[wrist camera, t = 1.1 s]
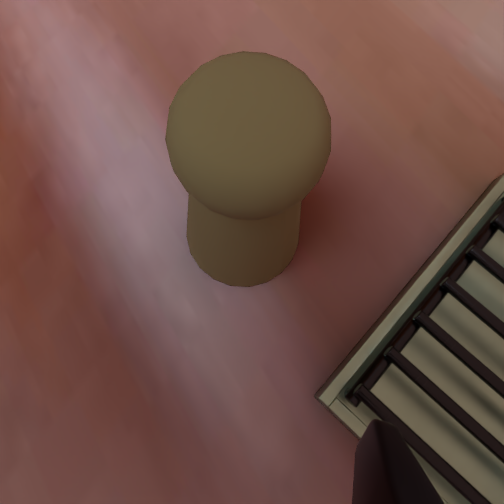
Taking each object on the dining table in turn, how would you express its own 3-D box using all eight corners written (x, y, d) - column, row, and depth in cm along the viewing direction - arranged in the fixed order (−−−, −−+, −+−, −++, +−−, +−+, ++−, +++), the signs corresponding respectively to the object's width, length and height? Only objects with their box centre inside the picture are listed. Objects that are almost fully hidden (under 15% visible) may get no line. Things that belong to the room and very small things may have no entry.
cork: (170, 204, 22) (110, 53, 12) (270, 165, 23) (301, -8, 12) (212, 305, 21) (189, 240, 10) (318, 259, 22) (398, 156, 11)
